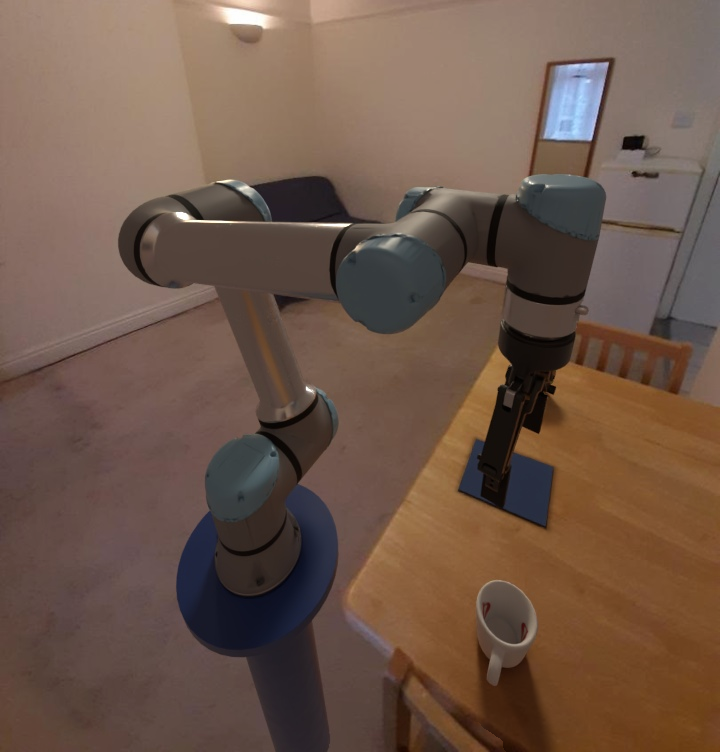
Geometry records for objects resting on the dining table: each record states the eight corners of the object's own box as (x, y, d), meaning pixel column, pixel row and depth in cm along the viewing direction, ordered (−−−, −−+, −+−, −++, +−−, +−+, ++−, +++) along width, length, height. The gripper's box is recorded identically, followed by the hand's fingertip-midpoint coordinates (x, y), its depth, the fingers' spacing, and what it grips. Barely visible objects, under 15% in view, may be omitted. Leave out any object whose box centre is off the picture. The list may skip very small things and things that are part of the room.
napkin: (458, 490, 80) (458, 489, 80) (475, 439, 91) (475, 438, 91) (545, 527, 73) (545, 526, 73) (553, 467, 84) (553, 466, 84)
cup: (519, 719, 51) (529, 691, 48) (458, 678, 55) (463, 649, 51) (533, 628, 60) (542, 598, 56) (479, 597, 63) (484, 568, 60)
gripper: (538, 405, 33) (506, 561, 42) (600, 287, 50) (568, 415, 59) (453, 370, 37) (441, 518, 46) (537, 272, 54) (517, 394, 63)
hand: (512, 460), depth 52 cm, fingers open, 13 cm apart
